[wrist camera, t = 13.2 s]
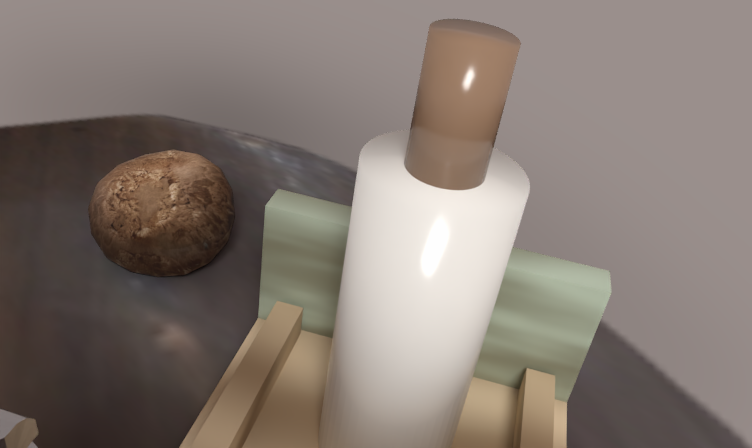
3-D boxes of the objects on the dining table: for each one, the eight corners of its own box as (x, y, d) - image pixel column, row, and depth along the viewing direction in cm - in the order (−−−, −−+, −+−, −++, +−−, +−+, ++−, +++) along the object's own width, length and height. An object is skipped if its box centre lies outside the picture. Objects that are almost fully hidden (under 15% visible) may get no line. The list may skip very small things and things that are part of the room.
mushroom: (186, 150, 46) (166, 101, 40) (268, 236, 44) (260, 199, 38) (82, 229, 43) (46, 190, 37) (165, 323, 42) (140, 298, 36)
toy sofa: (528, 751, 23) (633, 574, 17) (125, 615, 24) (105, 415, 19) (543, 427, 34) (608, 261, 29) (270, 350, 36) (284, 180, 31)
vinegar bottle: (298, 410, 28) (348, 3, 19) (409, 380, 30) (498, 3, 21) (352, 517, 24) (442, 77, 15) (472, 473, 26) (611, 68, 18)
